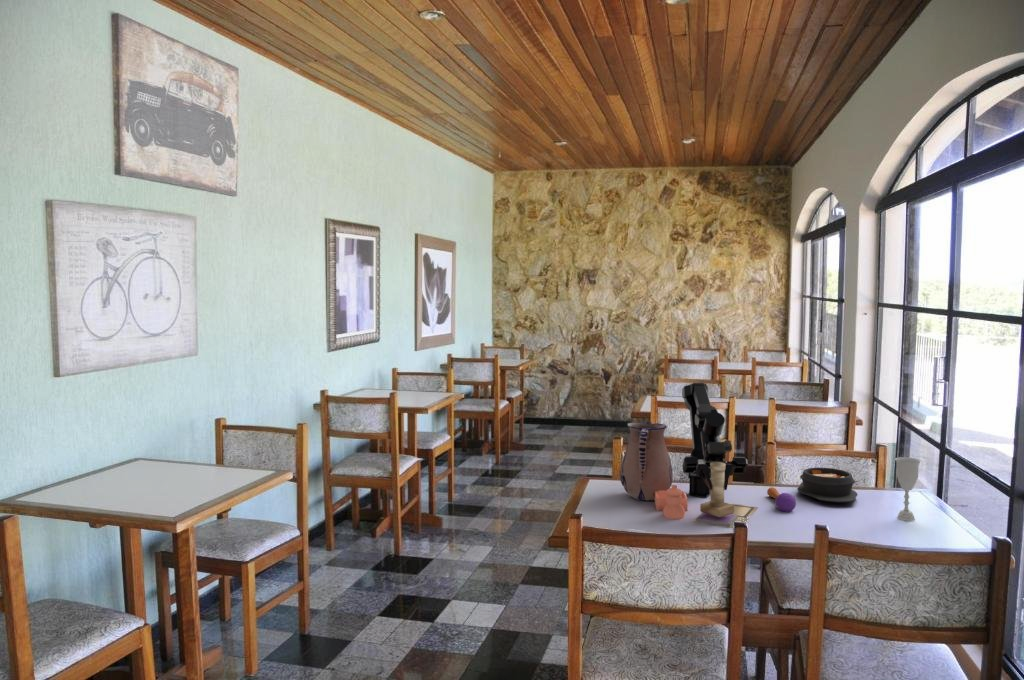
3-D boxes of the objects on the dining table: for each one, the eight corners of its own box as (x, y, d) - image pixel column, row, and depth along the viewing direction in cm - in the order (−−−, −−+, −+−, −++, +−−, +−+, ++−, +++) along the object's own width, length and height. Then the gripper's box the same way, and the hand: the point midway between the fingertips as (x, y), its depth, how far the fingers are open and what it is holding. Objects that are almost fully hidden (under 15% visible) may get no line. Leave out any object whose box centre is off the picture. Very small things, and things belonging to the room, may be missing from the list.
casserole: (788, 486, 259) (788, 463, 258) (842, 487, 257) (843, 464, 256) (809, 507, 234) (809, 481, 233) (870, 508, 232) (870, 482, 232)
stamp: (700, 512, 221) (700, 463, 219) (714, 507, 225) (715, 459, 224) (719, 517, 215) (720, 468, 214) (734, 513, 219) (734, 464, 218)
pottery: (654, 502, 239) (654, 473, 239) (684, 503, 238) (684, 474, 238) (658, 519, 222) (659, 488, 221) (690, 520, 220) (691, 488, 220)
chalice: (896, 513, 226) (897, 456, 225) (921, 517, 222) (922, 459, 221) (890, 519, 221) (892, 460, 219) (916, 523, 216) (917, 463, 215)
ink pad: (695, 521, 218) (696, 518, 218) (705, 513, 227) (705, 509, 227) (729, 527, 213) (729, 523, 213) (738, 518, 222) (738, 514, 222)
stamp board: (692, 523, 218) (692, 521, 218) (714, 502, 240) (714, 500, 240) (739, 530, 211) (739, 528, 211) (758, 508, 233) (758, 506, 233)
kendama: (782, 485, 246) (799, 497, 226) (779, 502, 246) (796, 516, 226) (764, 481, 247) (780, 493, 227) (761, 499, 247) (776, 511, 227)
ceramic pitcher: (669, 491, 254) (670, 419, 252) (676, 508, 233) (676, 431, 231) (619, 489, 256) (619, 419, 255) (620, 507, 235) (620, 430, 234)
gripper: (684, 430, 223) (690, 475, 213) (746, 430, 221) (755, 476, 211) (680, 450, 231) (685, 494, 221) (740, 450, 230) (748, 495, 219)
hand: (718, 489), depth 218 cm, fingers closed on stamp, 4 cm apart
